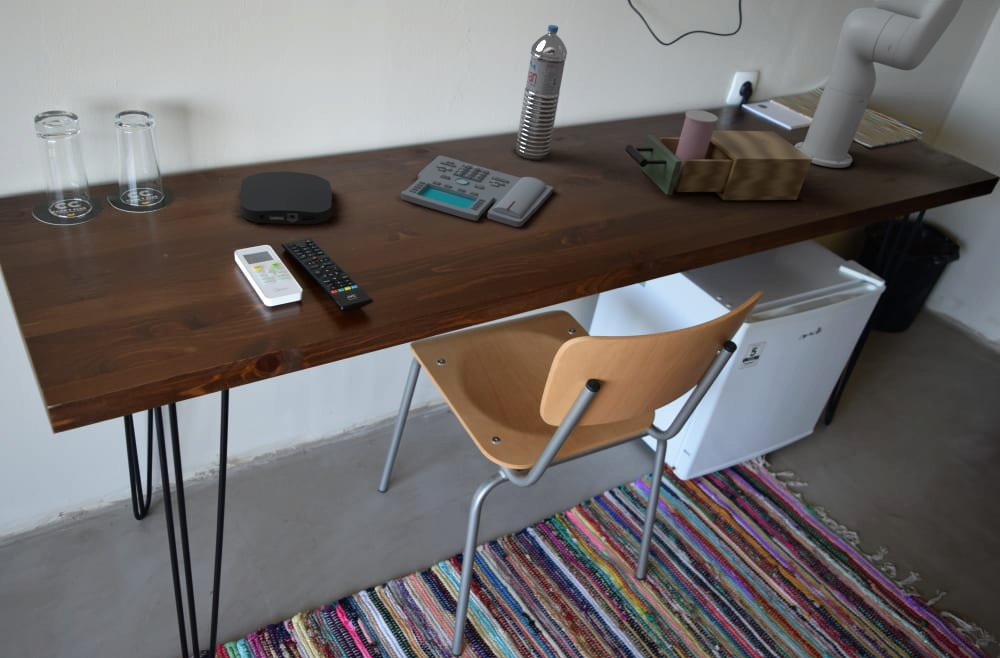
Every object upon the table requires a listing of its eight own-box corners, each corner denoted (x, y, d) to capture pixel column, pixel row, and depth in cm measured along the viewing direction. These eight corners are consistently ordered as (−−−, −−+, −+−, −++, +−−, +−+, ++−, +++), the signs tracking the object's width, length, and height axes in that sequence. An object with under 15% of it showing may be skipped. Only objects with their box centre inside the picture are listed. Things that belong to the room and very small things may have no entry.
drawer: (639, 195, 152) (648, 161, 148) (613, 166, 161) (621, 134, 157) (738, 194, 157) (749, 161, 153) (706, 167, 167) (716, 135, 163)
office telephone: (555, 179, 149) (521, 221, 134) (552, 192, 151) (519, 235, 135) (440, 148, 155) (395, 184, 139) (438, 161, 156) (394, 198, 141)
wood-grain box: (723, 200, 156) (737, 158, 151) (690, 170, 167) (702, 129, 162) (796, 199, 160) (812, 159, 155) (759, 170, 171) (773, 131, 166)
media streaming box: (329, 187, 142) (329, 171, 140) (332, 226, 130) (333, 209, 128) (243, 184, 139) (242, 168, 137) (239, 224, 127) (238, 207, 125)
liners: (680, 166, 162) (697, 107, 155) (705, 177, 159) (723, 118, 152) (663, 173, 159) (679, 112, 152) (688, 184, 156) (707, 123, 148)
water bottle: (546, 163, 161) (569, 33, 147) (512, 157, 162) (532, 27, 147) (550, 151, 167) (573, 25, 152) (517, 145, 168) (537, 19, 153)
